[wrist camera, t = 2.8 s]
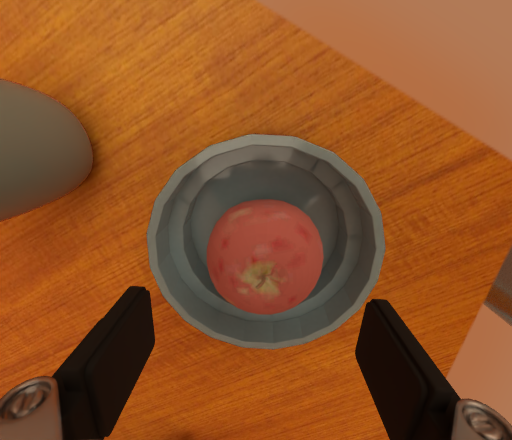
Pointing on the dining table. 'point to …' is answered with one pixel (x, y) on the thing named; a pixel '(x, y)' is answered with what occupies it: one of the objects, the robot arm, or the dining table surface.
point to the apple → (264, 256)
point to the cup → (38, 150)
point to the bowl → (276, 188)
